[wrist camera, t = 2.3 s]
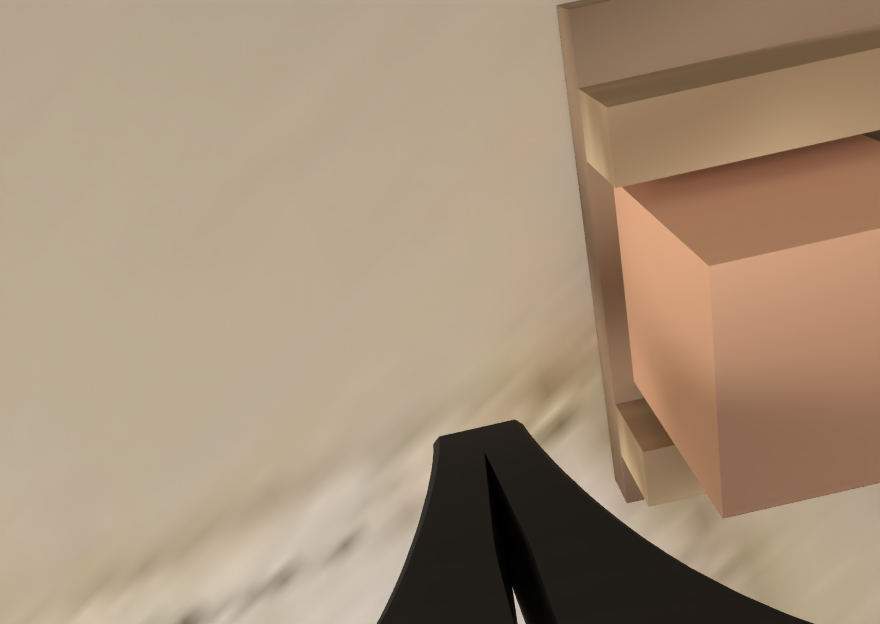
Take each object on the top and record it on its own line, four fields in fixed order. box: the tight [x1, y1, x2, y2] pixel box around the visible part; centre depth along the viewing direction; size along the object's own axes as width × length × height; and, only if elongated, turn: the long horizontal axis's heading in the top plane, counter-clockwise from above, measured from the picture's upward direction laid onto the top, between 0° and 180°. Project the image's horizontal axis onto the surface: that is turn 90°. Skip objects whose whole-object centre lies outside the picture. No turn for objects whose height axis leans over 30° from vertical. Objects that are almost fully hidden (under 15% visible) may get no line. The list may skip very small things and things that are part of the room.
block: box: [614, 134, 880, 518], centre depth 16 cm, size 5×5×5 cm
